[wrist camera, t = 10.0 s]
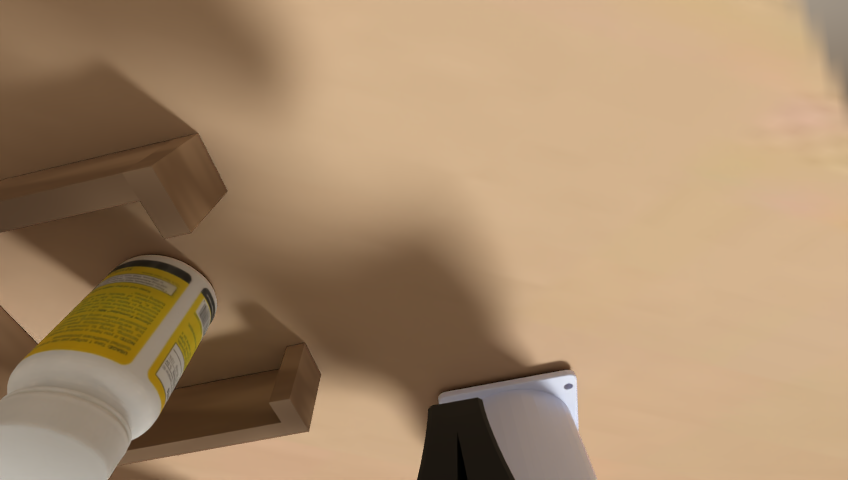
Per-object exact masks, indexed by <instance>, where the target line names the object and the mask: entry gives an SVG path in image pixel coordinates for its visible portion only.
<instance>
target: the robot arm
mask: <svg viewBox="0 0 848 480" xmlns="http://www.w3.org/2000/svg"><path fill="white" fill-rule="evenodd" d="M438 401H439V404H438V405H432V406H431V407H430V408H429V409H428V421H427V429H426V437H425V443H424V449H423V454H422V460H421V465H420V470H419V474H418V478H417V480H598V479H597V477H596V474H595V472H594V469H593V467H592V464H591V462H590V459H589V457H588V454H587V452H586V449H585V447H584V444H583V442H582V439H581V437H580V434H579V429H578V401H577V378H576V375H575V373H574V372H573V371H572V370H562V371H557V372H551V373H546V374H540V375H535V376H529V377H524V378H518V379H513V380H507V381H502V382H496V383H491V384H485V385H480V386H474V387H469V388H464V389H458V390H453V391H447V392H443V393H441V394H440V395H439V397H438Z"/></svg>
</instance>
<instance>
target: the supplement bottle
mask: <svg viewBox="0 0 848 480" xmlns="http://www.w3.org/2000/svg"><path fill="white" fill-rule="evenodd" d="M216 310H217V298H216V294H215V291H214V289H213V287H212V286H211V284H210V283H209V282H208V280H207V279H206V278H205V277H204V276H203V275H202V274H200V273H199V272H198V271H197V270H195V269H194V268H192V267H191V266H189V265H187V264H186V263H184V262H182V261H179V260H177V259H174V258H171V257H167V256H161V255H142V256H137V257H133V258H131V259H128V260H126V261H124V262H123V263H121V264H120V265H119V266H117V267H116V268H115V269H114V270H113V271H112V272H111V273H109V275H108V276H107V277H106V278H105V279H104V280H103V281H101V282H100V284H99V285H97V286H96V287H95V288H94V289H93V290H92V291H91V292H90V293H89V294H88V295H87V296H86V297H85V298H84V299H83V300H82V301H81V302H80V303H79V304H78V305H77V306H76V307H75V308H74V309H73V310H72V311H71V312H70V313H69V314H68V315H67V316H66V317H65V318H64V319H63V320H62V321H61V322H60V323H59V324H58V325H57V326H56V327H55V328H54V329H53V330H52V331H51V332H50V333H49V334H48V335H47V336H46V337H45V338H44V339H43V340H42V341H41V342H40V343H39V344H38V345H37V346H36V347H35V348H34V349H33V350H32V351H31V352H30V353H29V354H28V355H27V356H26V357H25V358H24V359H23V360H22V361H21V362H20V363H19V364H18V365H17V366H16V368H15V369H14V370H13V372H12V373H11V375H10V377H9V380H8V385H7V395H6V396H4V397H3V398H2V399H1V400H0V480H108V479H109V478H110V476H111V474H112V473H113V471H114V470H115V468H116V466H117V465H118V463H119V462H120V460H121V459H122V457H123V456H124V455H125V453H126V451H127V449H128V447H129V445H130V443H131V440H133V439H135V438H137V437H139V436H141V435H142V434H143V433H145V432H146V431H147V430H148V429H149V428H150V427H151V426H152V425H153V424H154V422H155V421H156V419H157V418H158V417H159V415H160V413H161V411H162V409H163V408H164V406H165V404H166V402H167V400H168V399H169V397H170V395H171V393H172V392H173V390H174V388H175V386H176V384H177V383H178V381H179V379H180V378H181V376H182V374H183V372H184V370H185V369H186V367H187V365H188V363H189V361H190V360H191V358H192V356H193V354H194V352H195V351H196V349H197V347H198V345H199V343H200V342H201V340H202V338H203V336H204V335H205V333H206V331H207V329H208V327H209V325H210V324H211V322H212V320H213V318H214V316H215V314H216Z"/></svg>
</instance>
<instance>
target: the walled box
mask: <svg viewBox="0 0 848 480" xmlns="http://www.w3.org/2000/svg"><path fill="white" fill-rule="evenodd" d="M226 192H227V189H226V187H225V185H224V183H223V181H222V179H221V177H220V175H219V173H218V171H217V169H216V167H215V166H214V164H213V162H212V160H211V158H210V156H209V154H208V152H207V150H206V148H205V146H204V144H203V142H202V140H201V138H200V136H199V134H198V133H197V134H193V135H189V136H185V137H180V138H176V139H172V140H168V141H164V142H159V143H155V144H151V145H147V146H143V147H138V148H134V149H130V150H126V151H122V152H117V153H113V154H109V155H105V156H101V157H96V158H92V159H88V160H84V161H80V162H75V163H71V164H67V165H63V166H59V167H54V168H50V169H46V170H42V171H38V172H33V173H29V174H25V175H21V176H17V177H12V178H8V179H4V180H0V233H1V232H5V231H10V230H14V229H18V228H23V227H27V226H31V225H36V224H40V223H45V222H49V221H53V220H58V219H62V218H67V217H71V216H75V215H80V214H84V213H88V212H93V211H97V210H102V209H106V208H110V207H115V206H119V205H123V204H128V203H132V202H137V201H140V202H141V204H142V205H143V207H144V208H145V210H146V211H147V213H148V215H149V216H150V218H151V219H152V221H153V222H154V224H155V226H156V227H157V229H158V230H159V232H160V233H161V235H162V237H163V238H164V239H166V238H170V237H175V236H179V235H184V234H188V233H191V232H192V231H193V230H194V229H195V228H196V227H197V225H198V224H199V223H200V222H201V221H202V220H203V219H204V217H205V216H206V215H207V214H208V213H209V212H210V211H211V209H212V208H213V207H214V206H215V205H216V204H217V202H218V201H219V200H220V199H221V198H222V197H223V196H224V194H225V193H226ZM37 345H38V344H37V343H36V342H35V341H34V340H33V339H32V338H31V337H30V336H29V335H28V334H27V333H26V332H25V331H24V330H23V329H22V328H21V327H20V326H19V325H18V324H17V323H16V322H15V321H14V320H13V319H12V318H11V317H10V316H9V315H8V314H7V313H6V312H5V311H4V310H3V309H2V308H1V307H0V400H1V399H2V398H3V397H4V396H6V395H7V385H8V380H9V377H10V375H11V373H12V372H13V370H14V369H15V368H16V366H17V365H18V364H19V363H20V362H21V361H22V360H23V359H24V358H25V357H26V356H27V355H28V354H29V353H30V352H31V351H32V350H33V349H34V348H35V347H36V346H37ZM320 377H321V374H320V372H319V370H318V368H317V366H316V364H315V362H314V360H313V358H312V356H311V354H310V352H309V350H308V348H307V346H306V344H305V343H302V344H297V345H292V346H287V348H286V351H285V354H284V357H283V360H282V363H281V366H280V369H277V370H272V371H267V372H262V373H257V374H251V375H246V376H241V377H236V378H231V379H225V380H220V381H215V382H210V383H204V384H199V385H194V386H189V387H184V388H178V389H174V390H173V392H172V393H171V395H170V397H169V399H168V400H167V402H166V404H165V406H164V408H163V409H162V411H161V413H160V415H159V417H158V418H157V419H156V421H155V422H154V424H153V425H152V426H151V427H150V428H149V429H148V430H147V431H146V432H145V433H143V434H142V435H141V436H139V437H137V438H135V439H133V440H131V443H130V445H129V447H128V449H127V451H126V453H125V455H124V456H123V457H122V459H121V460H120V462H119V463H118V465H117V466H119V465H125V464H131V463H136V462H142V461H147V460H153V459H158V458H164V457H169V456H175V455H181V454H186V453H192V452H197V451H203V450H208V449H214V448H220V447H225V446H231V445H236V444H242V443H247V442H253V441H258V440H264V439H270V438H275V437H281V436H286V435H292V434H297V433H303V432H308V431H309V429H310V424H311V419H312V414H313V410H314V405H315V400H316V395H317V391H318V386H319V381H320Z"/></svg>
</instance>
